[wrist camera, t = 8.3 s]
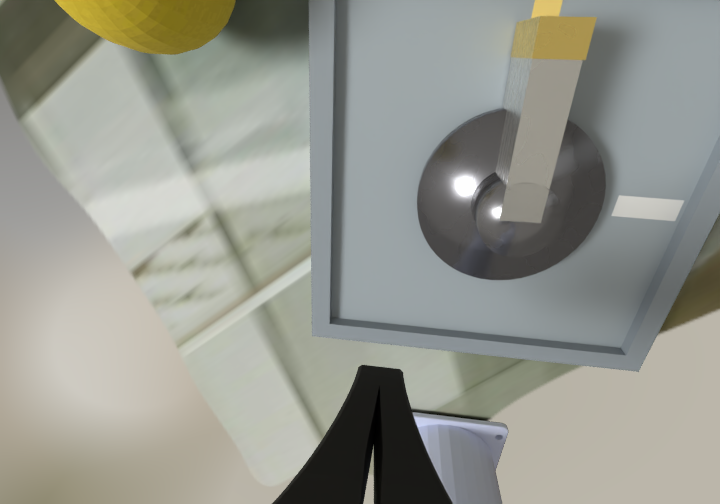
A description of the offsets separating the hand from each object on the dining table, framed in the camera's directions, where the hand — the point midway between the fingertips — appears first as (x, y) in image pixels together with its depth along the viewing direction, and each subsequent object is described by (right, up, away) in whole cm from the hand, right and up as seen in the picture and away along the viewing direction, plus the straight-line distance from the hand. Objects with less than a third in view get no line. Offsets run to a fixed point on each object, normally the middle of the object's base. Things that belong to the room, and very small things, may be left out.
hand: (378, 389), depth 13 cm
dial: (+6, +8, +5) cm, 11 cm away
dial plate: (+6, +8, +7) cm, 12 cm away
